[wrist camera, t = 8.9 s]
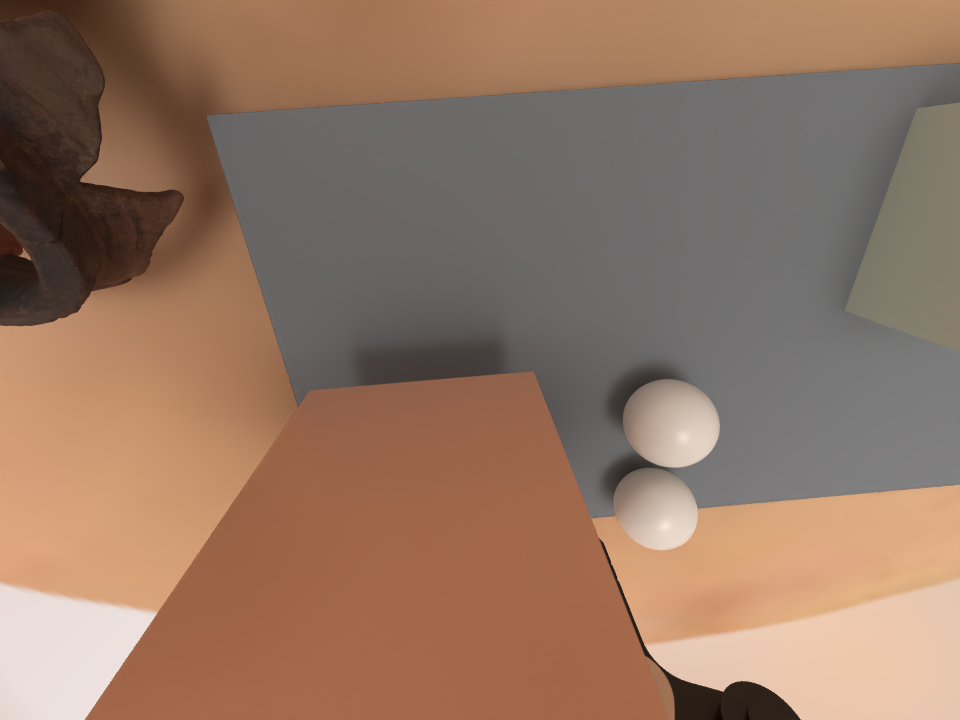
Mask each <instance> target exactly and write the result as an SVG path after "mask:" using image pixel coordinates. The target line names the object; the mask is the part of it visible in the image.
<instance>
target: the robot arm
mask: <svg viewBox="0 0 960 720" xmlns="http://www.w3.org/2000/svg"><path fill="white" fill-rule="evenodd" d="M599 540H600V538H599ZM600 543H601V545H602V548H603V550H604V553H605V555H606V558H607V560H608V563H609V566H610V568H611V571H612V573H613V576H614V578H615V581H616V584H617V586H618V589H619V591H620V594H621V596H622V599H623V601H624V604H625V607H626V609H627V612H628V614H629V617H630V619H631V622H632V624H633V627H634V630H635V632H636V635H637V637H638V640H639V642H640V645H641V647H642V650H643V653H644V655H645V658H646V660H647V663H648V665H649V668H650V670H651V673H652V676H653V678H654V681H655V683H656V686H657V688H658V691H659V693H660V696H661V699H662V701H663V704H664V706H665V709H666V711H667V714H668V716H669V719H670V720H800V718H799V717H798V715H797V714H796V713H795V712H794V711H793V710H792V708H791V707H790V706H789V705H788V704H787V703H786V702H785V701H784V700H782V699H781V698H780V697H779V696H778V695H776V694H775V693H774V692H772V691H770V690H769V689H767V688H765V687H763V686H761V685H758V684H756V683H752V682H747V681H740V682H735V683H732V684H730V685H729V686H728V687H727V688H726V689H725V690H724V692H722V691H719V690H715V689H711V688H708V687H704V686H701V685H697V684H693V683H690V682H687V681H684V680H681V679H679V678H677V677H675V676H673V675H671V674H670V673H669V672H667V671H666V670H665V669H663V668H662V667H661V666H660V665H659V664H658V663H657V662H656V661H655V660H654V659H653V658H652V656H651V655H650V654H649V652H648V651H647V649H646V647H645V645H644V643H643V641H642V638H641V636H640V633H639V631H638V628H637V626H636V623H635V621H634V618H633V616H632V613H631V611H630V608H629V606H628V603H627V601H626V598H625V596H624V593H623V591H622V588H621V586H620V583H619V581H618V580H617V576H616V573H615V571H614V568H613V565H611V560H610V558H609V555H608V553H607V550H606V548H605V545H604V543H603V542H602V541H601V540H600Z"/></svg>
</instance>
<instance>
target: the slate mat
mask: <svg viewBox="0 0 960 720" xmlns="http://www.w3.org/2000/svg"><path fill="white" fill-rule="evenodd" d="M959 102H960V63H952V64H938V65H923V66H909V67H894V68H880V69H865V70H851V71H837V72H822V73H808V74H793V75H779V76H764V77H750V78H736V79H721V80H707V81H692V82H678V83H663V84H649V85H635V86H620V87H606V88H591V89H577V90H562V91H548V92H534V93H519V94H505V95H490V96H476V97H461V98H447V99H433V100H418V101H404V102H389V103H375V104H360V105H346V106H332V107H317V108H303V109H288V110H274V111H259V112H245V113H231V114H216V115H206V118H207V121H208V124H209V128H210V131H211V134H212V137H213V140H214V143H215V146H216V150H217V153H218V156H219V159H220V162H221V165H222V168H223V172H224V175H225V178H226V181H227V184H228V187H229V190H230V194H231V197H232V200H233V203H234V206H235V209H236V213H237V216H238V219H239V222H240V225H241V228H242V231H243V235H244V238H245V241H246V244H247V247H248V250H249V253H250V257H251V260H252V263H253V266H254V269H255V272H256V275H257V279H258V282H259V285H260V288H261V291H262V294H263V298H264V301H265V304H266V307H267V310H268V313H269V316H270V320H271V323H272V326H273V329H274V332H275V335H276V338H277V342H278V345H279V348H280V351H281V354H282V357H283V360H284V364H285V367H286V370H287V373H288V376H289V379H290V383H291V386H292V389H293V392H294V395H295V398H296V401H297V405H298V407H299V405H300V404H301V402H302V401H303V399H304V398H305V397H306V395H307V394H308V392H309V391H310V390H320V389H332V388H343V387H355V386H367V385H379V384H390V383H402V382H414V381H426V380H437V379H449V378H461V377H473V376H484V375H496V374H508V373H520V372H531V371H534V374H535V376H536V379H537V381H538V384H539V387H540V389H541V392H542V394H543V397H544V399H545V402H546V405H547V407H548V410H549V412H550V415H551V417H552V420H553V422H554V425H555V428H556V430H557V433H558V435H559V438H560V440H561V443H562V445H563V448H564V451H565V453H566V456H567V458H568V461H569V463H570V466H571V468H572V471H573V474H574V476H575V479H576V481H577V484H578V486H579V489H580V491H581V494H582V497H583V499H584V502H585V504H586V507H587V509H588V512H589V514H590V517H591V518H598V517H609V516H615V512H614V507H613V499H614V494H615V491H616V488H617V486H618V484H619V483H620V481H621V480H622V479H623V478H624V477H625V476H626V475H627V474H629V473H631V472H632V471H635V470H637V469H641V468H658V469H662V470H665V471H668V472H670V473H672V474H674V475H675V476H677V477H678V478H679V479H681V480H682V481H683V482H684V483H685V484H686V485H687V487H688V488H689V489H690V491H691V492H692V494H693V496H694V498H695V501H696V504H697V508H708V507H719V506H730V505H741V504H752V503H763V502H775V501H786V500H797V499H808V498H819V497H830V496H841V495H852V494H863V493H874V492H885V491H896V490H907V489H918V488H929V487H940V486H951V485H960V352H957V351H955V350H952V349H949V348H946V347H943V346H941V345H938V344H935V343H932V342H930V341H927V340H924V339H921V338H918V337H916V336H913V335H910V334H907V333H905V332H902V331H899V330H896V329H893V328H891V327H888V326H885V325H882V324H880V323H877V322H874V321H871V320H868V319H866V318H863V317H860V316H857V315H854V314H852V313H849V312H846V311H844V310H845V307H846V304H847V302H848V299H849V296H850V293H851V290H852V288H853V285H854V282H855V279H856V276H857V274H858V271H859V268H860V265H861V262H862V260H863V257H864V254H865V251H866V248H867V246H868V243H869V240H870V237H871V235H872V232H873V229H874V226H875V223H876V221H877V218H878V215H879V212H880V209H881V207H882V204H883V201H884V198H885V195H886V193H887V190H888V187H889V184H890V181H891V179H892V176H893V173H894V170H895V168H896V165H897V162H898V159H899V156H900V154H901V151H902V148H903V145H904V142H905V140H906V137H907V134H908V131H909V128H910V126H911V123H912V120H913V117H914V115H915V112H916V109H917V108H923V107H930V106H937V105H945V104H952V103H959ZM662 379H674V380H680V381H684V382H687V383H689V384H691V385H693V386H695V387H697V388H698V389H700V390H701V391H702V392H704V393H705V394H706V395H707V396H708V397H709V399H710V400H711V401H712V403H713V404H714V406H715V408H716V410H717V413H718V416H719V422H720V432H719V437H718V440H717V442H716V444H715V446H714V448H713V449H712V451H711V452H710V453H709V454H708V455H707V456H706V457H705V458H703V459H702V460H700V461H699V462H697V463H695V464H692V465H689V466H685V467H677V468H672V467H664V466H660V465H657V464H654V463H652V462H650V461H648V460H646V459H645V458H643V457H642V456H640V455H639V454H638V453H637V452H636V451H635V450H634V449H633V447H632V446H631V445H630V443H629V441H628V439H627V438H626V435H625V432H624V429H623V413H624V408H625V406H626V404H627V401H628V400H629V398H630V397H631V395H632V394H633V393H634V392H635V391H636V390H637V389H639V388H640V387H642V386H643V385H645V384H647V383H649V382H652V381H656V380H662Z"/></svg>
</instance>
